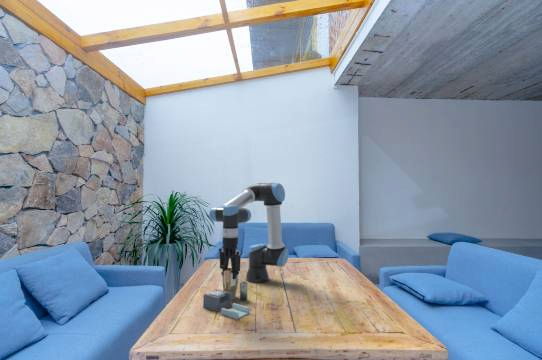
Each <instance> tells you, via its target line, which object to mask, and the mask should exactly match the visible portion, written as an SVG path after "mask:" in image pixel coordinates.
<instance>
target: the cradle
mask: <svg viewBox="0 0 542 360" xmlns="http://www.w3.org/2000/svg"><path fill="white" fill-rule="evenodd" d="M217 290H218V291H222V292H225V293H226V296H223V297H221V298H220V297H216V296H213V295H209V293H203V301H202V302H203V303H202V304H203V306H202V307H203V308H205V309H207V310H211V311H215V312H217V313H218V312H220V311H221V309H222V308H225V309H228V308H229V307H231V306H232V299H231V293H230V292H226V291H223V289H222V290H221V289H218V288H216V289H215V291H217Z"/></svg>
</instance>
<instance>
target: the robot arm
mask: <svg viewBox="0 0 542 360" xmlns="http://www.w3.org/2000/svg"><path fill="white" fill-rule="evenodd" d="M285 198H286V191H285V188H284V186H283V185H282V184H281V183H280V182H279V183H278V182H277V183H276V182H257V183H254V184H252V185H249V186H248V187H246V188H244V189H243V190H242V192H240V194H238V195H236V196H235V197H233V198H232V199H230V200H229V201H227V202H225V203H224V204H222V205H221V206H219V207H216V206H215V207H211V209H210V210H209V213H208V215H209V219H210V220H211V221H212V222H216V223H222V236H223V237H222V245H223V247H222V248H219V249H218V252H219V269H221V270H222V271H223V277H224V285H225V269H228V268H229V262H230V266H231V267H230V268H232V272H231V286H234V285H236V278H237V277H236V276H237V272H240V271H241V257H242V256H241V255H242V253H243V252H242V250H239V249H238V244H239V237H238V236H239V224H244V223H247V222H249V221H250V220H251V219H252V212H251V210H250V209H249V208H245V206H247V205H248V204H252V203H253V202H263V205H264V207H265V208H266V222H267V233H268V234H267V235H268V244H267V243H257V244H252V245H250V246H249V248H248V249H249V250H248V270H247V273H246V276H245V280H246V281H247V282H249V283H255V284H257V283H258V284H259V283H265V282H268V281H269V280H270V278H269V277H270V275H269V272H268V270H267V269H268V268H267V266H271V267H280V268H281V267H285V265H287V262H288V260H289V253H290V252H289V249H288V248H286V246H285V243H284V242H283V235H282V233H283V232H282V218H281V206H282V205H283V202H284V201H285ZM234 269H235V270H234Z"/></svg>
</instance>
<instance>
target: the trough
mask: <svg viewBox="0 0 542 360" xmlns="http://www.w3.org/2000/svg"><path fill="white" fill-rule="evenodd" d="M250 309H251V308H250V307H249V306H246V305H243V304H242V305H241V304H238V303H236V302H235V303H232V308H230V309H228V308H222V309H221V310H220V311H221V313H220V315H222V316H225V317H227V318H231V319H234V320H239V319H241V318H244V317H245V316H247V315H249V314H250Z"/></svg>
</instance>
